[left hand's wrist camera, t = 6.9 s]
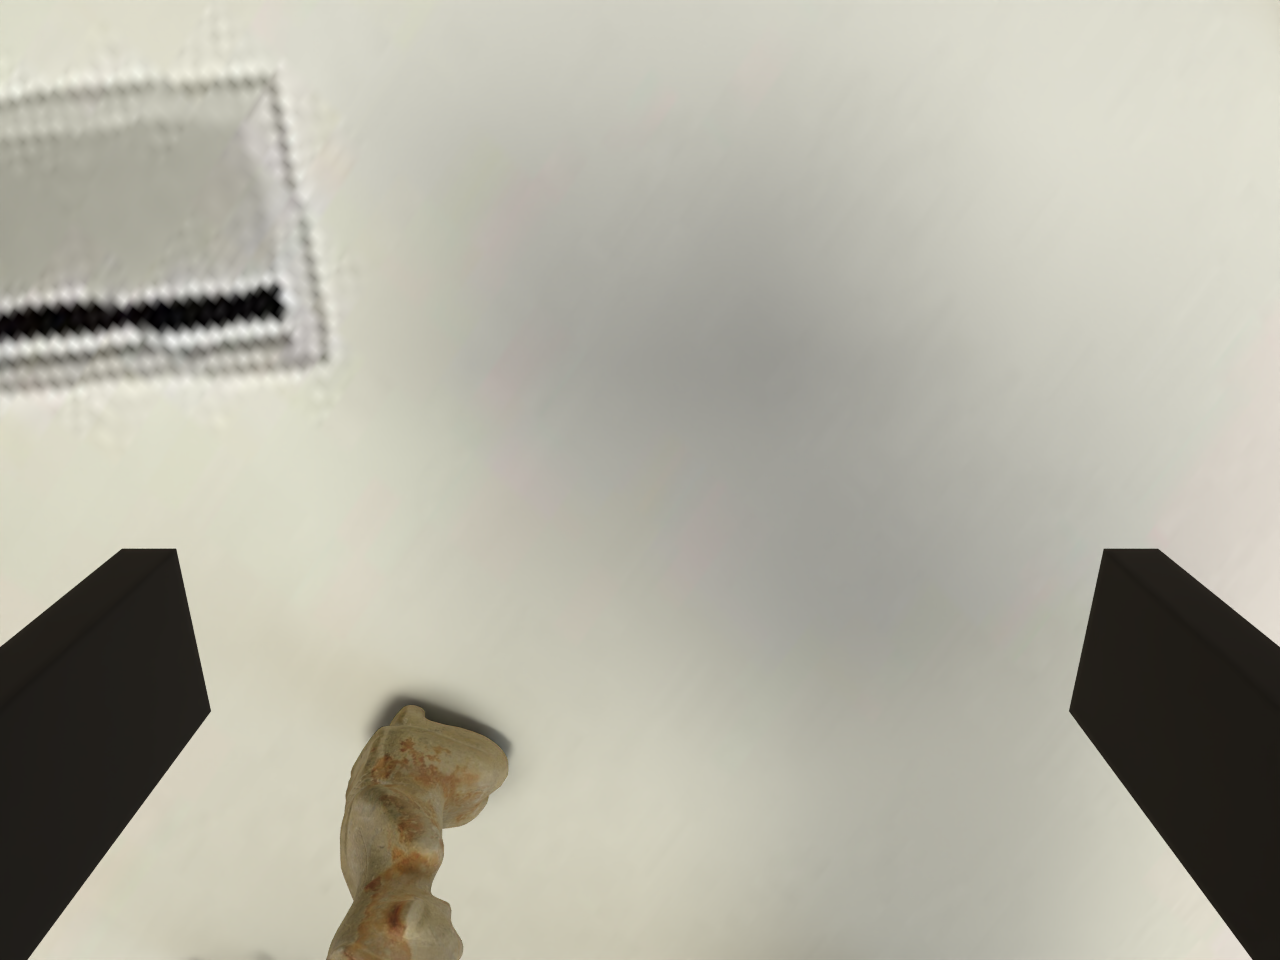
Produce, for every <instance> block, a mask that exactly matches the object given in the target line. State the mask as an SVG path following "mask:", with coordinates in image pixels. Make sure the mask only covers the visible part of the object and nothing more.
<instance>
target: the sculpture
mask: <svg viewBox="0 0 1280 960" xmlns="http://www.w3.org/2000/svg"><path fill="white" fill-rule="evenodd" d="M507 775H508V760H507V757H506V755H505V754H504V752H503V751H502V749H501V748H500V747H499V746H498V745H497V744H496V743H494V742H493V741H492V740H490V739H488V738H487V737H485V736H483V735H481V734H478V733H476V732H473V731H470V730H467V729H464V728H460V727H456V726H450V725H445V724H441V723H437V722H433V721H430V720H428V719H427V718H425V711H424V710H423V709H422V708H421V707H418V706H415V705H407V706H405V707H403V708H402V709H401V710H400V711H399V712H398V713H397V714H396V716H395V717H394V719H393V720H392V722H391V724H390V726H384V727H381V728H380V729H378V730H377V731H376V733H375V734H374V735H373V736H372V737H371V739H370V740H369V741H368V743H367V744H366V746H365V747H364V749H363V750H362V752H361V753H360V755H359V757H358V759H357V760H356V762H355V764H354V766H353V768H352V770H351V778H350V780H349V783H348V788H347V791H346V805H345V814H344V817H343V821H342V825H341V833H340V857H341V869H342V872H343V875H344V878H345V881H346V883H347V886H348V888H349V890H350V893H351V895H352V898H353V900H354V901H353V904H352V906H351V908H350V909H349V911H348V913H347V915H346V916H345V918H344V920H343V921H342V923H341V925H340V926H339V928H338V930H337V932H336V934H335V936H334V938H333V940H332V942H331V945H330V948H329V952H328V956H327V959H326V960H459V959H460V958H461V956H462V953H463V944H462V940H461V939H460V937H459V935H458V934H457V932H456V931H455V929H454V927H453V926H452V922H451V908H450V904H449V903H447V902H445V901H443V900H441V899H438V898H436V897H434V896H433V895H432V894H431V886H432V882H433V880H434V877H435V875H436V873H437V871H438V869H439V867H440V865H441V863H442V860H443V856H444V844H443V840H442V829H445V828H452V827H458V826H462V825H465V824H467V823H468V822H470V821H471V820H473V819H474V818H475V817H476V816H477V815H478V814H479V813H480V812H481V811H482V809H483V808H484V807H485V805H486V804H487V801H488V797H489V795H490V794H491V793H492V792H494V791H495V790H496V789H498V788H499V787H500V786H501V785H502V783H503V782H504V780H505V779H506V777H507Z"/></svg>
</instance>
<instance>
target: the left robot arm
mask: <svg viewBox="0 0 1280 960" xmlns="http://www.w3.org/2000/svg"><path fill="white" fill-rule="evenodd" d="M210 712H211V709H210V704H209V700H208V695H207V690H206V686H205V681H204V676H203V672H202V667H201V662H200V658H199V653H198V648H197V644H196V639H195V634H194V630H193V625H192V620H191V616H190V611H189V606H188V602H187V597H186V592H185V588H184V583H183V578H182V574H181V569H180V564H179V560H178V555H177V550H176V549H121V550H120V551H119V552H117V553H116V554H115V555H114V556H112V557H111V558H110V559H109V560H107V561H106V562H105V563H104V564H103V565H101V566H100V567H99V568H98V569H96V570H95V571H94V572H93V573H91V574H90V575H89V576H88V577H86V578H85V579H84V580H83V581H81V582H80V583H79V584H78V585H77V586H75V587H74V588H73V589H72V590H70V591H69V592H68V593H67V594H65V595H64V596H63V597H62V598H60V599H59V600H58V601H57V602H55V603H54V604H53V605H52V606H51V607H49V608H48V609H47V610H46V611H44V612H43V613H42V614H41V615H39V616H38V617H37V618H36V619H34V620H33V621H32V622H31V623H29V624H28V625H27V626H26V627H25V628H23V629H22V630H21V631H20V632H18V633H17V634H16V635H15V636H13V637H12V638H11V639H10V640H8V641H7V642H6V643H5V644H3V645H2V646H1V647H0V960H28V958H29V957H30V956H31V954H32V953H33V951H34V950H35V949H36V947H37V946H38V945H39V943H40V942H41V941H42V939H43V938H44V937H45V935H46V934H47V932H48V931H49V930H50V928H51V927H52V926H53V924H54V923H55V922H56V920H57V919H58V918H59V916H60V915H61V914H62V912H63V911H64V909H65V908H66V907H67V905H68V904H69V903H70V901H71V900H72V899H73V897H74V896H75V895H76V893H77V892H78V891H79V889H80V888H81V886H82V885H83V884H84V882H85V881H86V880H87V878H88V877H89V876H90V874H91V873H92V872H93V870H94V869H95V868H96V866H97V865H98V863H99V862H100V861H101V859H102V858H103V857H104V855H105V854H106V853H107V851H108V850H109V849H110V847H111V846H112V844H113V843H114V842H115V840H116V839H117V838H118V836H119V835H120V834H121V832H122V831H123V830H124V828H125V827H126V826H127V824H128V823H129V821H130V820H131V819H132V817H133V816H134V815H135V813H136V812H137V811H138V809H139V808H140V807H141V805H142V804H143V803H144V801H145V800H146V798H147V797H148V796H149V794H150V793H151V792H152V790H153V789H154V788H155V786H156V785H157V784H158V782H159V781H160V780H161V778H162V777H163V775H164V774H165V773H166V771H167V770H168V769H169V767H170V766H171V765H172V763H173V762H174V761H175V759H176V758H177V757H178V755H179V754H180V752H181V751H182V750H183V748H184V747H185V746H186V744H187V743H188V742H189V740H190V739H191V738H192V736H193V735H194V733H195V732H196V731H197V729H198V728H199V727H200V725H201V724H202V723H203V721H204V720H205V719H206V717H207V716H208V715H209V713H210ZM1069 712H1070V713H1071V715H1072V716H1073V717H1074V719H1075V720H1076V721H1077V723H1078V724H1079V725H1080V727H1081V728H1082V729H1083V731H1084V732H1085V733H1086V735H1087V736H1088V738H1089V739H1090V740H1091V742H1092V743H1093V744H1094V746H1095V747H1096V748H1097V750H1098V751H1099V752H1100V754H1101V755H1102V757H1103V758H1104V759H1105V761H1106V762H1107V763H1108V765H1109V766H1110V767H1111V769H1112V770H1113V771H1114V773H1115V774H1116V775H1117V777H1118V778H1119V780H1120V781H1121V782H1122V784H1123V785H1124V786H1125V788H1126V789H1127V790H1128V792H1129V793H1130V794H1131V796H1132V797H1133V798H1134V800H1135V801H1136V803H1137V804H1138V805H1139V807H1140V808H1141V809H1142V811H1143V812H1144V813H1145V815H1146V816H1147V817H1148V819H1149V820H1150V821H1151V823H1152V824H1153V826H1154V827H1155V828H1156V830H1157V831H1158V832H1159V834H1160V835H1161V836H1162V838H1163V839H1164V840H1165V842H1166V843H1167V844H1168V846H1169V847H1170V849H1171V850H1172V851H1173V853H1174V854H1175V855H1176V857H1177V858H1178V859H1179V861H1180V862H1181V863H1182V865H1183V866H1184V868H1185V869H1186V870H1187V872H1188V873H1189V874H1190V876H1191V877H1192V878H1193V880H1194V881H1195V882H1196V884H1197V885H1198V886H1199V888H1200V889H1201V891H1202V892H1203V893H1204V895H1205V896H1206V897H1207V899H1208V900H1209V901H1210V903H1211V904H1212V905H1213V907H1214V908H1215V909H1216V911H1217V912H1218V914H1219V915H1220V916H1221V918H1222V919H1223V920H1224V922H1225V923H1226V924H1227V926H1228V927H1229V928H1230V930H1231V931H1232V932H1233V934H1234V935H1235V937H1236V938H1237V939H1238V941H1239V942H1240V943H1241V945H1242V946H1243V947H1244V949H1245V950H1246V951H1247V953H1248V954H1249V956H1250V957H1251V958H1252V960H1280V647H1279V646H1278V645H1277V644H1275V643H1274V642H1273V641H1272V640H1270V639H1269V638H1268V637H1267V636H1265V635H1264V634H1263V633H1262V632H1260V631H1259V630H1258V629H1257V628H1255V627H1254V626H1253V625H1252V624H1251V623H1249V622H1248V621H1247V620H1246V619H1244V618H1243V617H1242V616H1241V615H1239V614H1238V613H1237V612H1236V611H1234V610H1233V609H1232V608H1231V607H1229V606H1228V605H1227V604H1226V603H1225V602H1223V601H1222V600H1221V599H1220V598H1218V597H1217V596H1216V595H1215V594H1213V593H1212V592H1211V591H1210V590H1208V589H1207V588H1206V587H1205V586H1203V585H1202V584H1201V583H1200V582H1199V581H1197V580H1196V579H1195V578H1194V577H1192V576H1191V575H1190V574H1189V573H1187V572H1186V571H1185V570H1184V569H1182V568H1181V567H1180V566H1179V565H1177V564H1176V563H1175V562H1174V561H1173V560H1171V559H1170V558H1169V557H1168V556H1166V555H1165V554H1164V553H1163V552H1161V551H1160V550H1159V549H1104V550H1103V555H1102V560H1101V564H1100V569H1099V574H1098V578H1097V583H1096V588H1095V592H1094V597H1093V602H1092V606H1091V611H1090V616H1089V620H1088V625H1087V630H1086V634H1085V639H1084V644H1083V648H1082V653H1081V658H1080V662H1079V667H1078V672H1077V676H1076V681H1075V686H1074V690H1073V695H1072V700H1071V704H1070V709H1069Z"/></svg>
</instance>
